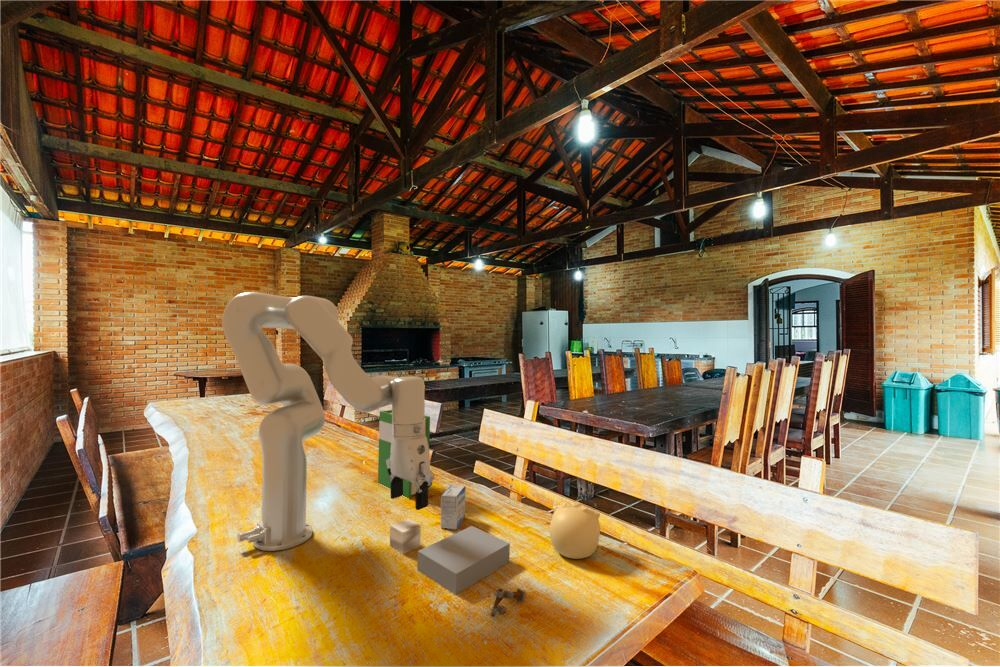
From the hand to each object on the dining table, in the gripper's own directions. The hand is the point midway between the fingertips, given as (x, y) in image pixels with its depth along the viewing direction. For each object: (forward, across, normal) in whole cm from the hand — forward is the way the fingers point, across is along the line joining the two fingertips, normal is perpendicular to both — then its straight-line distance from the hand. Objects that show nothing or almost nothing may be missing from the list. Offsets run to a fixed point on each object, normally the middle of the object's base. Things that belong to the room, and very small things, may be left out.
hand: (409, 502), depth 96 cm
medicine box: (+11, +2, -15) cm, 19 cm away
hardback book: (+10, +32, -20) cm, 39 cm away
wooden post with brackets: (+12, -31, 0) cm, 33 cm away
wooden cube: (+10, +1, +1) cm, 10 cm away
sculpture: (+12, -29, -25) cm, 40 cm away
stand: (+11, -15, -3) cm, 19 cm away
